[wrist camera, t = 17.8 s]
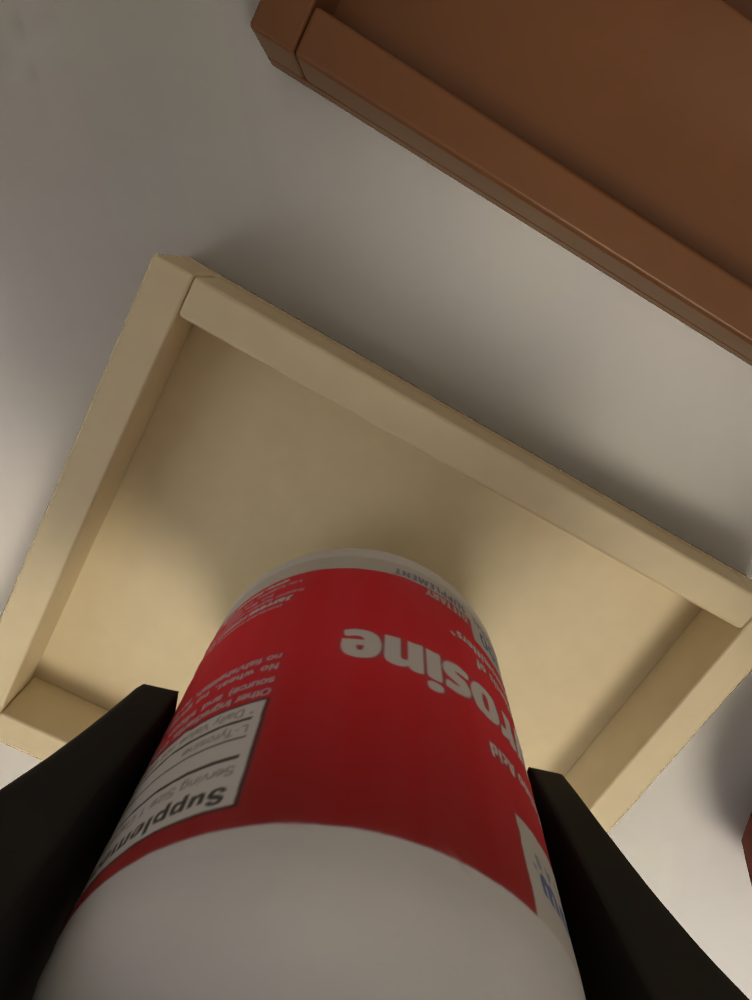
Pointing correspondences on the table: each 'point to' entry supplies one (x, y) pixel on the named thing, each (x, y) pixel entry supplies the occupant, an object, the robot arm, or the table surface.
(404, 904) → the pill bottle
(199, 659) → the cream tray
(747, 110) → the brown tray
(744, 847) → the cocoa
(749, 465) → the table surface
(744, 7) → the walnut block
